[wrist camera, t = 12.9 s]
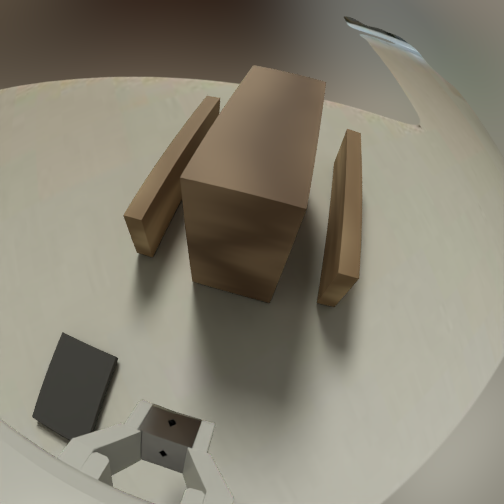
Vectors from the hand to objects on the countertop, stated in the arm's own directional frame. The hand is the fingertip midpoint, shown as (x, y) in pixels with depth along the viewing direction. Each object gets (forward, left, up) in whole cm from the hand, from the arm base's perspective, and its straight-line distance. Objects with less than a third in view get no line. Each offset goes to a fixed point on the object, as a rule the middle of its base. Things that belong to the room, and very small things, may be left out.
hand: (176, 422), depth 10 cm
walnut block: (0, +14, -5) cm, 15 cm away
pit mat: (-7, -1, -5) cm, 9 cm away
